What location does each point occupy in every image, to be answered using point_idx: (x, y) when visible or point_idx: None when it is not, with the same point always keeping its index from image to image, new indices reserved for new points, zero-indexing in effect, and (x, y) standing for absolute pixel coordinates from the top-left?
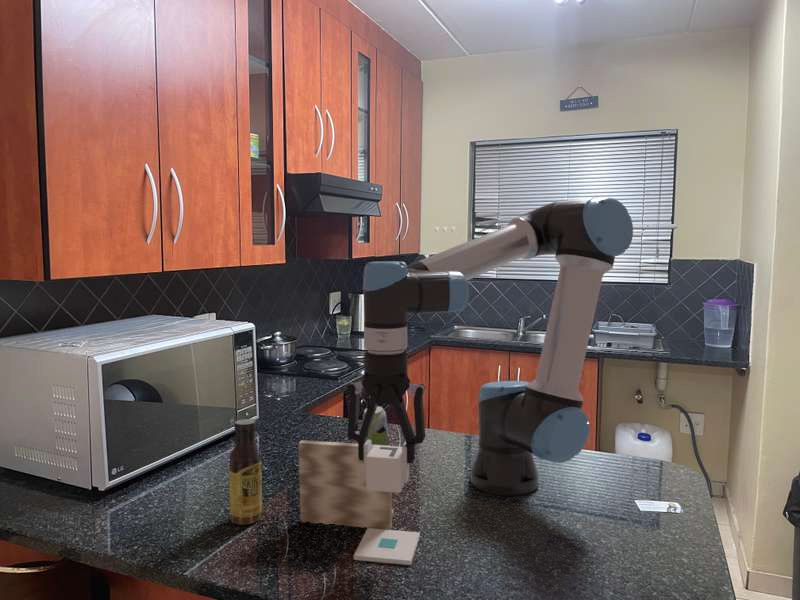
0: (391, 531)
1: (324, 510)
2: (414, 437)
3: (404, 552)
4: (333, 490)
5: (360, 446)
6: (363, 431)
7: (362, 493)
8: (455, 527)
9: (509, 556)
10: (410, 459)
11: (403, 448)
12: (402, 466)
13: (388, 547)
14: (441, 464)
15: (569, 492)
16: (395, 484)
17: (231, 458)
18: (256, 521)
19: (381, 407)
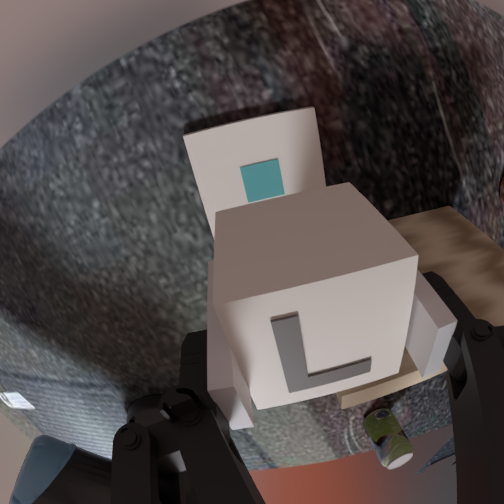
0: None
1: (426, 227)
2: (170, 453)
3: (211, 161)
4: (434, 256)
5: (461, 314)
6: (494, 378)
7: None
8: (170, 298)
9: (47, 248)
10: (196, 346)
11: (224, 380)
12: None
13: (253, 164)
14: (281, 426)
15: (92, 413)
16: (236, 222)
17: None
18: (501, 180)
19: (390, 468)
